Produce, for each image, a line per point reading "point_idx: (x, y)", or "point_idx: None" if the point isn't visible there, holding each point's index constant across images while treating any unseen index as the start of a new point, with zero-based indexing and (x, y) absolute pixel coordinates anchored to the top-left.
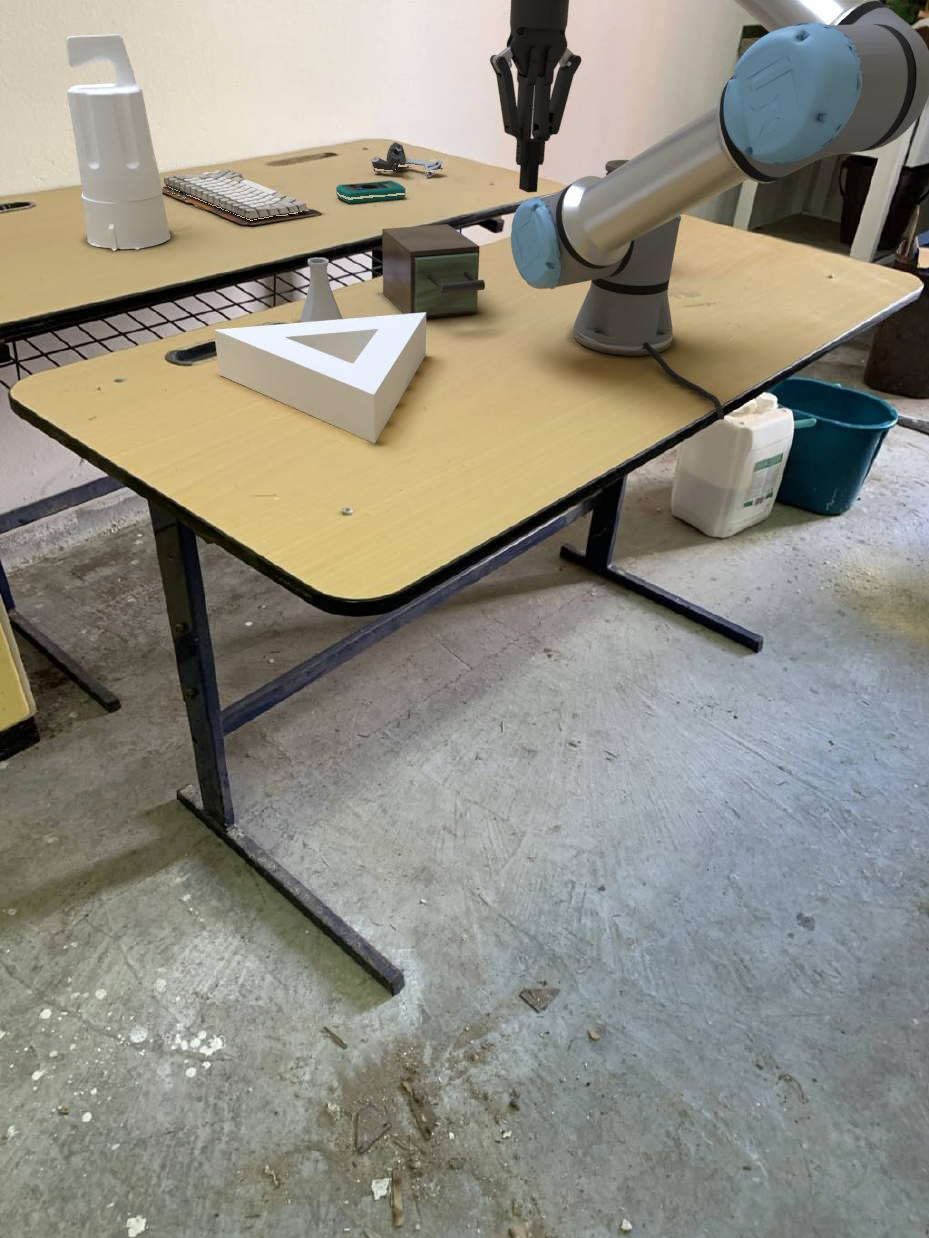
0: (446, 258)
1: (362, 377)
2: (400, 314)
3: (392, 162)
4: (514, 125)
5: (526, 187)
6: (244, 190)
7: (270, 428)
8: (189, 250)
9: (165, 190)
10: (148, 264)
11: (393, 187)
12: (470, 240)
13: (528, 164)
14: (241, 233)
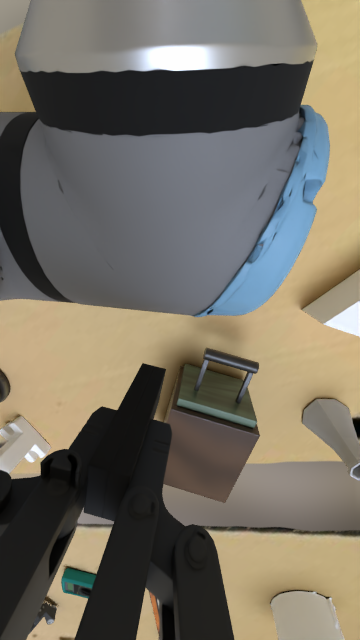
0: (220, 409)
1: None
2: (354, 334)
3: (41, 613)
4: (208, 599)
5: (162, 381)
6: None
7: None
8: (283, 574)
9: None
10: (330, 570)
11: (70, 582)
12: None
13: (150, 418)
14: (224, 578)
